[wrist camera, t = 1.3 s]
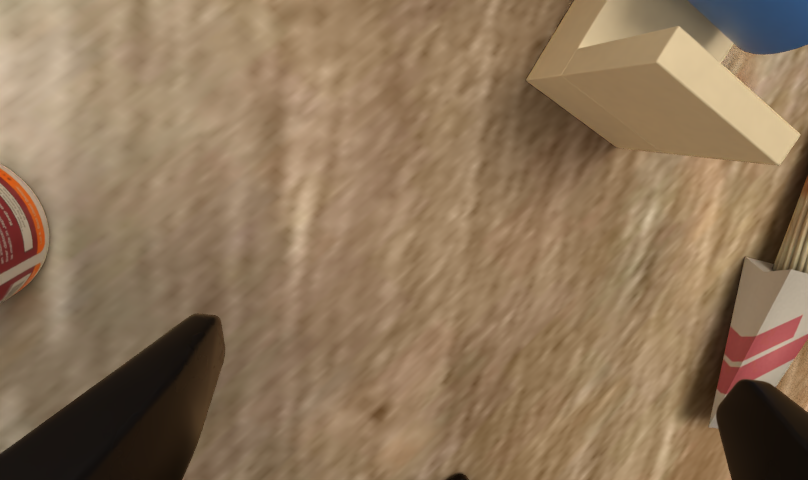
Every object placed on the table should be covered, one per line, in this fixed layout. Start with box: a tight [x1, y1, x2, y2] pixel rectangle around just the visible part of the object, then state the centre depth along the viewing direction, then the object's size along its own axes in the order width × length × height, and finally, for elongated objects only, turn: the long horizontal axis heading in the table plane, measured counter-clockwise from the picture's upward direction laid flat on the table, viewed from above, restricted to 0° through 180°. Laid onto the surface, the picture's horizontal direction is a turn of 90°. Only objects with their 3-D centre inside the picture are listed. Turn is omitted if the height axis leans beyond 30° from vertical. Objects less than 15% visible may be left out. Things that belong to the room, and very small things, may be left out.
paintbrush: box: [709, 176, 808, 428], centre depth 27 cm, size 4×3×20 cm
